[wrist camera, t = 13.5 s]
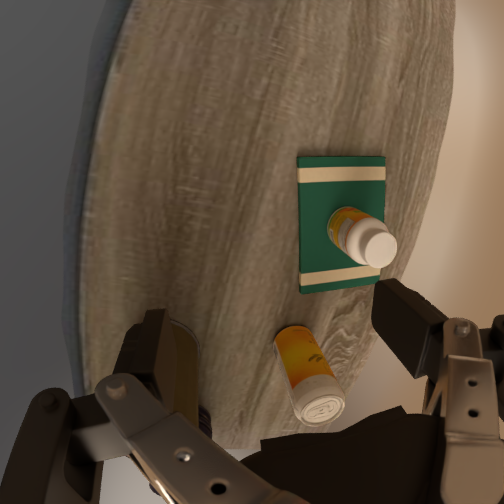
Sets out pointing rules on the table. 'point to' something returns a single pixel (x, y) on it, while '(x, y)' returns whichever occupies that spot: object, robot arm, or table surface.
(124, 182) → the table surface
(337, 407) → the beer can
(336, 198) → the towel
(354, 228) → the supplement bottle
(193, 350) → the canister
